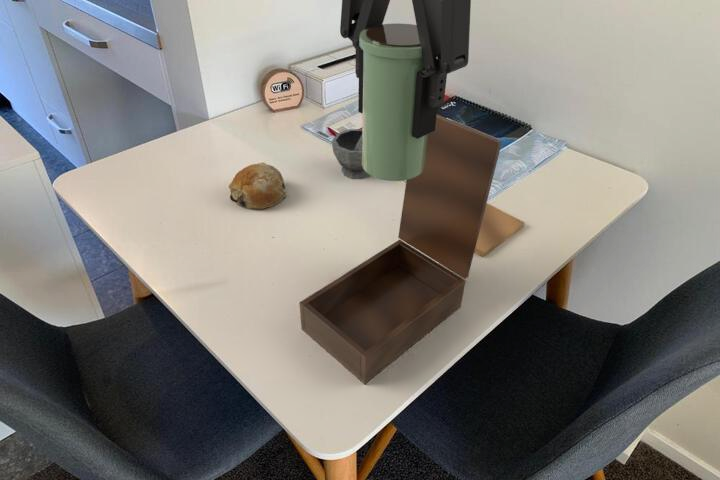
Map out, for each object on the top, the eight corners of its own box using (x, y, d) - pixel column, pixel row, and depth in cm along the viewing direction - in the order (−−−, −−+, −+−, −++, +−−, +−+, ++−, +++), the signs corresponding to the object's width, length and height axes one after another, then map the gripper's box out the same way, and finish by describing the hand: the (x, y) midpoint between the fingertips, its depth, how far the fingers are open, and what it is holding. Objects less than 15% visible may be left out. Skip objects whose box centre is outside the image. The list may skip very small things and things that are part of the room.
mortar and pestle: (350, 189, 100) (350, 132, 92) (324, 168, 106) (322, 113, 98) (396, 171, 105) (399, 116, 98) (368, 152, 111) (370, 99, 103)
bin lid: (498, 142, 60) (521, 132, 63) (416, 108, 67) (441, 100, 70) (464, 279, 72) (485, 265, 75) (397, 237, 79) (419, 226, 82)
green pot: (394, 191, 54) (403, 53, 45) (343, 163, 58) (342, 32, 49) (442, 165, 58) (458, 34, 49) (391, 140, 62) (398, 17, 54)
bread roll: (282, 224, 97) (297, 188, 93) (227, 212, 92) (242, 175, 88) (273, 195, 104) (288, 161, 101) (223, 183, 99) (236, 147, 96)
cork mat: (483, 257, 85) (484, 252, 84) (426, 224, 91) (427, 220, 91) (523, 226, 91) (524, 222, 91) (468, 198, 98) (468, 193, 97)
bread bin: (364, 385, 65) (365, 358, 62) (301, 329, 72) (299, 302, 69) (461, 307, 76) (466, 280, 73) (397, 265, 83) (399, 239, 80)
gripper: (551, -148, 37) (495, 142, 51) (357, -156, 48) (356, 84, 63) (489, -146, 33) (447, 169, 47) (293, -156, 44) (307, 101, 58)
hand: (395, 120), depth 55 cm, fingers closed on green pot, 7 cm apart
